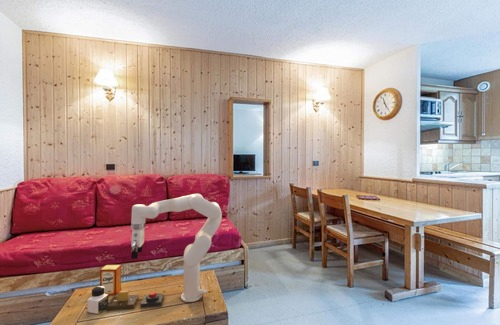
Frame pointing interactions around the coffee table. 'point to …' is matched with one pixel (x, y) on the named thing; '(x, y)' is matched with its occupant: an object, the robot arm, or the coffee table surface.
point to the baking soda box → (111, 279)
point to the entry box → (152, 300)
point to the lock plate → (122, 303)
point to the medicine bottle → (98, 300)
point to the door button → (152, 294)
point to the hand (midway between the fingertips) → (136, 255)
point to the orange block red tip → (123, 295)
